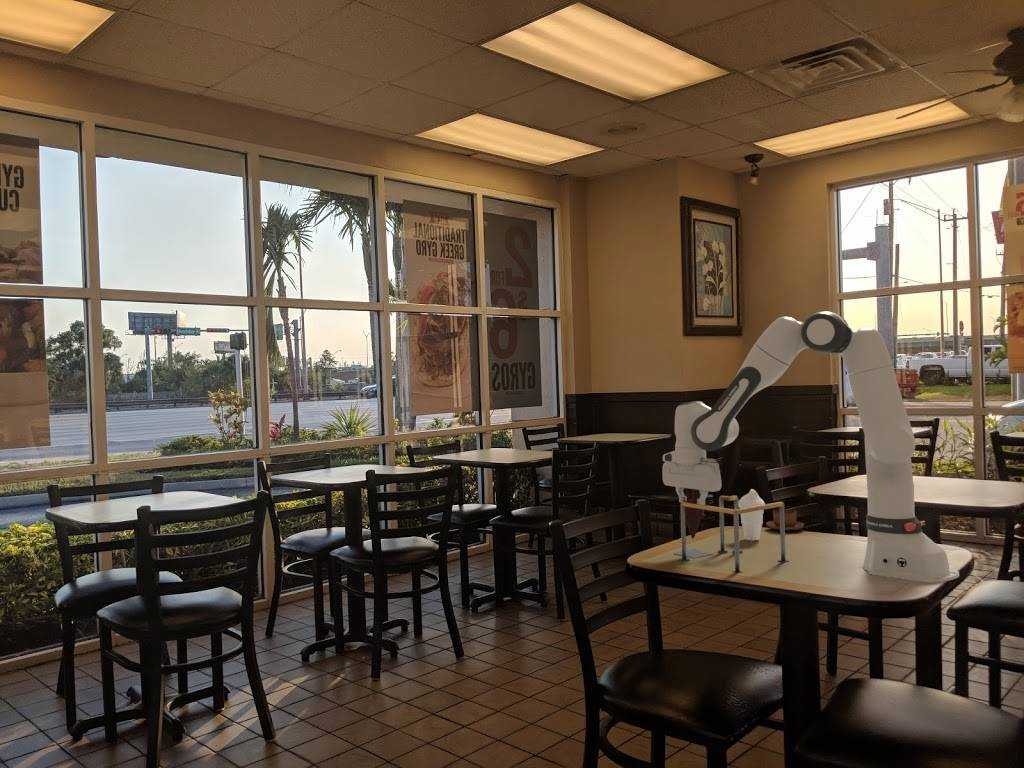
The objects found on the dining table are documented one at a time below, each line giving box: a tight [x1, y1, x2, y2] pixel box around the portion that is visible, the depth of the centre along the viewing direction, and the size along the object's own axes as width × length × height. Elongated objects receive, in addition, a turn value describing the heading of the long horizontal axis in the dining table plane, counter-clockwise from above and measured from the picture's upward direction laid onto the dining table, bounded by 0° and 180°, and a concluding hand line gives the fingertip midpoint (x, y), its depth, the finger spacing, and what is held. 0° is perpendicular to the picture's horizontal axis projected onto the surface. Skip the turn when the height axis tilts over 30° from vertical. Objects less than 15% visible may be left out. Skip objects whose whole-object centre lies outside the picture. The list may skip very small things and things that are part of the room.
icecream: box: [685, 488, 706, 539], centre depth 233 cm, size 7×7×15 cm
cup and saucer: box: [765, 508, 805, 532], centre depth 268 cm, size 12×12×6 cm
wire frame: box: [678, 495, 789, 574], centre depth 223 cm, size 21×21×17 cm
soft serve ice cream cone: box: [738, 488, 766, 542], centre depth 253 cm, size 8×8×16 cm
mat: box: [673, 549, 714, 559], centre depth 234 cm, size 8×8×1 cm
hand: (692, 503), depth 234 cm, fingers open, 6 cm apart
